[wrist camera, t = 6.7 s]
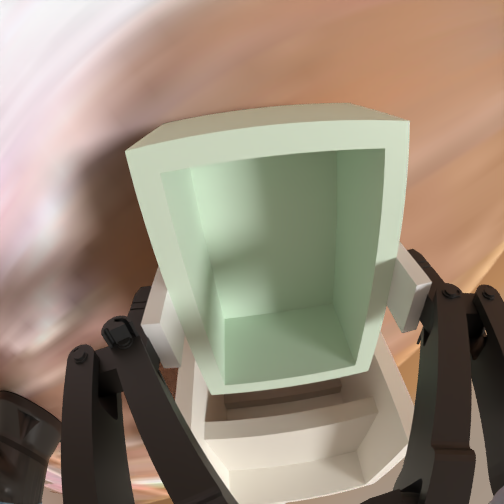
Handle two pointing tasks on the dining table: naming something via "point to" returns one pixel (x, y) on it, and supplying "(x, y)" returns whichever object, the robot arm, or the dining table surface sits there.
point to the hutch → (300, 431)
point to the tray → (276, 236)
